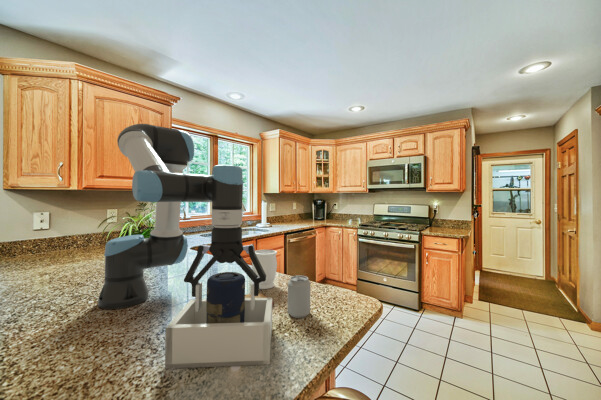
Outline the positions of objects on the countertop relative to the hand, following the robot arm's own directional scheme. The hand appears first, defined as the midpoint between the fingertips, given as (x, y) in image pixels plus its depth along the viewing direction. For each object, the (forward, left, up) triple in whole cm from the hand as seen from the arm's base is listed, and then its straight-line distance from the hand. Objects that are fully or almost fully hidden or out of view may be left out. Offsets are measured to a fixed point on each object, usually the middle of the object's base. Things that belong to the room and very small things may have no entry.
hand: (225, 308), depth 65 cm
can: (+20, +17, -10) cm, 28 cm away
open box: (0, 0, -10) cm, 10 cm away
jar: (+7, +44, -10) cm, 45 cm away
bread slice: (+1, +22, -10) cm, 24 cm away
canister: (0, 0, -9) cm, 9 cm away
